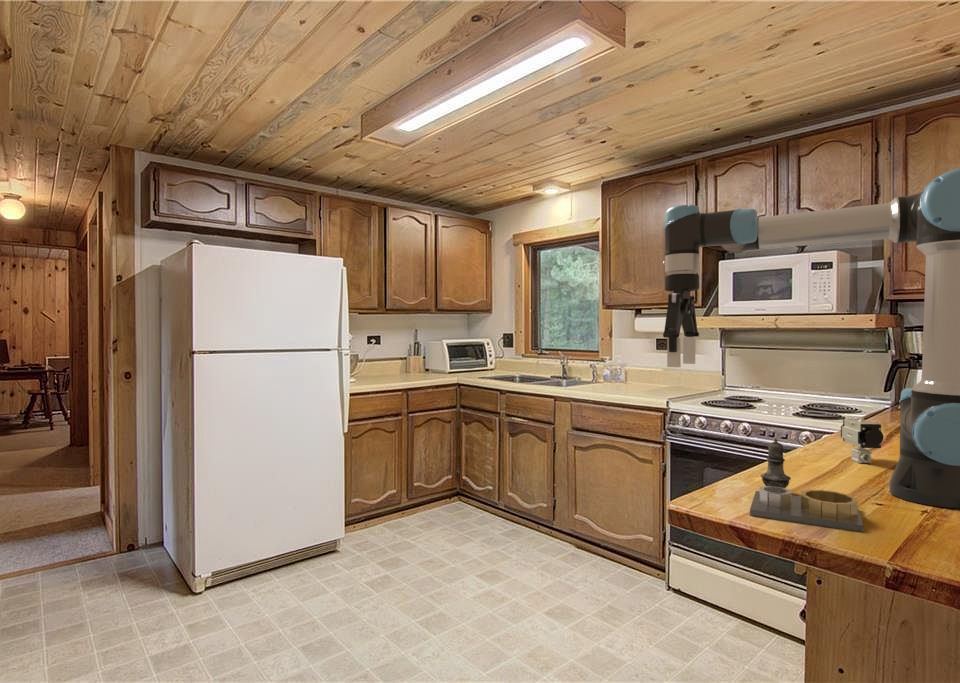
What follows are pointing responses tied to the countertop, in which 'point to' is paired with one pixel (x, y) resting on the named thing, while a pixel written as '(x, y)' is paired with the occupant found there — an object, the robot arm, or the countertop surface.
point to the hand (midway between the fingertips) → (681, 365)
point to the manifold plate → (803, 515)
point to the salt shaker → (775, 467)
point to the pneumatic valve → (861, 437)
